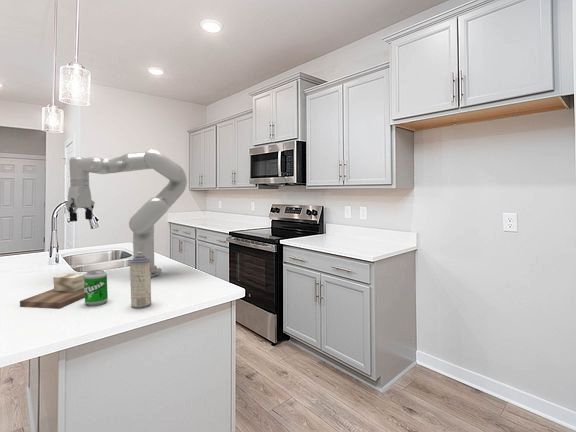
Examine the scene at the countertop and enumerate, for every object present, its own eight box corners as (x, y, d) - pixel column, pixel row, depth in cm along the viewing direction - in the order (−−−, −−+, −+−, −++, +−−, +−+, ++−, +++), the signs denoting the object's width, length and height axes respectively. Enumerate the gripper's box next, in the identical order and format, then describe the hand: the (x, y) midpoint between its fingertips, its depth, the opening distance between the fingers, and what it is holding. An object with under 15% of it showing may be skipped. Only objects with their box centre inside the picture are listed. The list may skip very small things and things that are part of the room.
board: (101, 290, 140) (101, 285, 139) (59, 308, 118) (59, 303, 118) (67, 288, 141) (66, 284, 141) (20, 306, 120) (19, 301, 119)
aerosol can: (154, 304, 122) (153, 252, 121) (137, 309, 117) (135, 254, 115) (145, 300, 126) (143, 249, 125) (127, 305, 121) (125, 252, 119)
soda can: (91, 300, 127) (90, 269, 126) (111, 299, 128) (110, 269, 127) (80, 306, 120) (79, 274, 119) (102, 306, 120) (100, 274, 119)
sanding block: (84, 288, 135) (84, 274, 134) (74, 292, 129) (74, 278, 129) (64, 287, 136) (64, 273, 135) (54, 291, 130) (53, 277, 130)
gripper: (85, 184, 162) (87, 218, 163) (57, 183, 145) (59, 221, 146) (99, 184, 161) (101, 218, 163) (73, 183, 144) (74, 222, 145)
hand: (81, 220), depth 154 cm, fingers open, 9 cm apart
